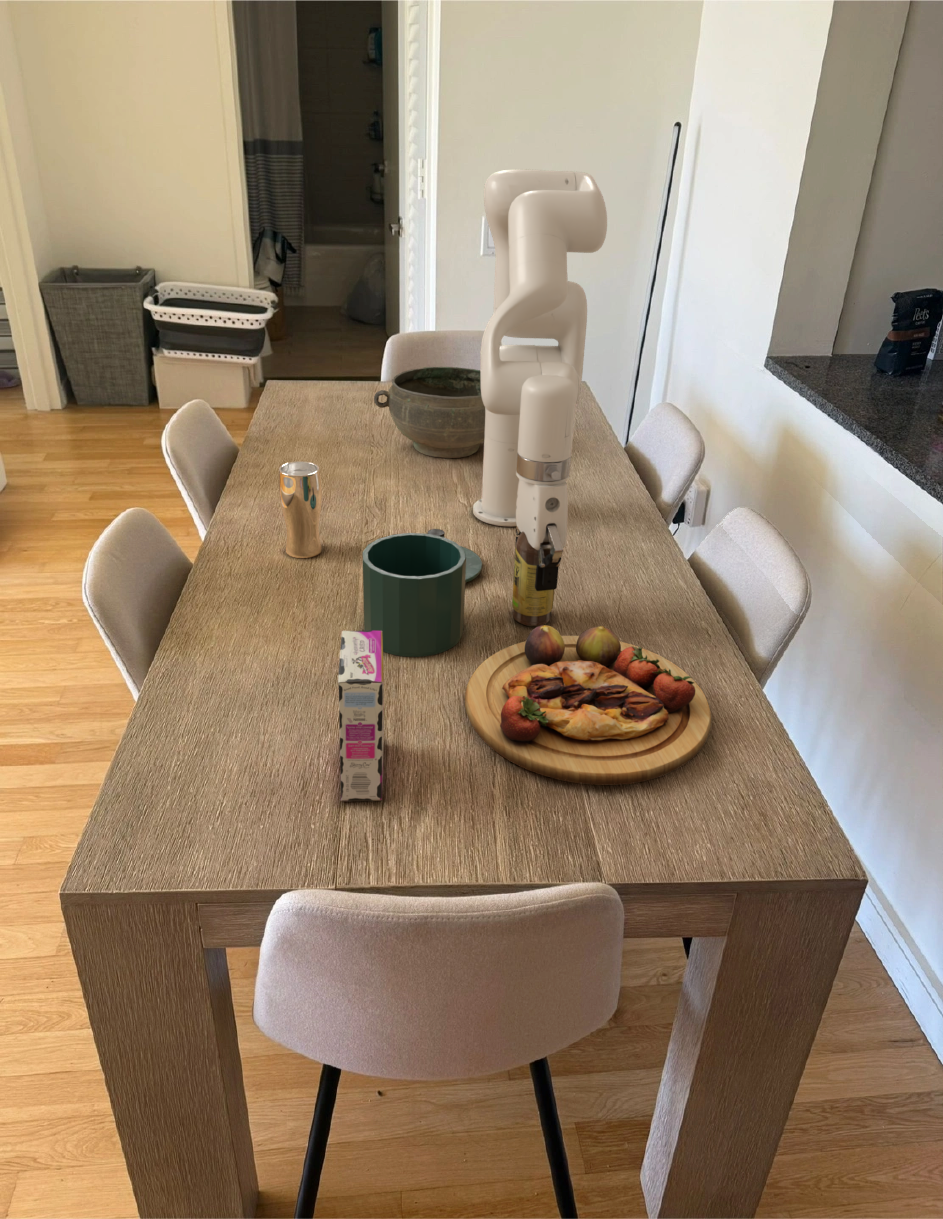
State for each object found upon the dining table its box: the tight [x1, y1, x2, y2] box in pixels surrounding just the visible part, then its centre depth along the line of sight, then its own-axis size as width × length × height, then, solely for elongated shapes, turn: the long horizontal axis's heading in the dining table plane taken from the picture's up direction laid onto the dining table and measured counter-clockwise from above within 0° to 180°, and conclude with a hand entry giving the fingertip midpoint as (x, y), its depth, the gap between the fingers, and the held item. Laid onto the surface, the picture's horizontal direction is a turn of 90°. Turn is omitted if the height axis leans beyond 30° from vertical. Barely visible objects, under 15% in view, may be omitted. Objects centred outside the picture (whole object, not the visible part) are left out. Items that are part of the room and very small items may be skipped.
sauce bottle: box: [511, 532, 555, 627], centre depth 140 cm, size 6×6×20 cm
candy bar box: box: [337, 630, 385, 802], centre depth 108 cm, size 11×5×16 cm, turn 5°
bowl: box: [373, 366, 485, 459], centre depth 206 cm, size 32×26×15 cm
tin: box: [361, 532, 466, 658], centre depth 138 cm, size 15×15×13 cm
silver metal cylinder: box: [278, 460, 323, 559], centre depth 159 cm, size 7×7×15 cm
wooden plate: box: [464, 624, 713, 786], centre depth 122 cm, size 32×32×8 cm
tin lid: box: [427, 528, 483, 584], centre depth 157 cm, size 16×16×7 cm
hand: (534, 574), depth 141 cm, fingers open, 9 cm apart
